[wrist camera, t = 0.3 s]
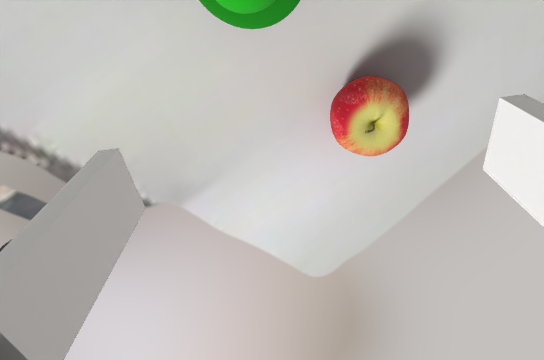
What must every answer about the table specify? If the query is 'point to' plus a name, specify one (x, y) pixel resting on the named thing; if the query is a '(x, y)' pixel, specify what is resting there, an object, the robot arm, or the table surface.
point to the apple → (369, 116)
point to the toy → (250, 11)
